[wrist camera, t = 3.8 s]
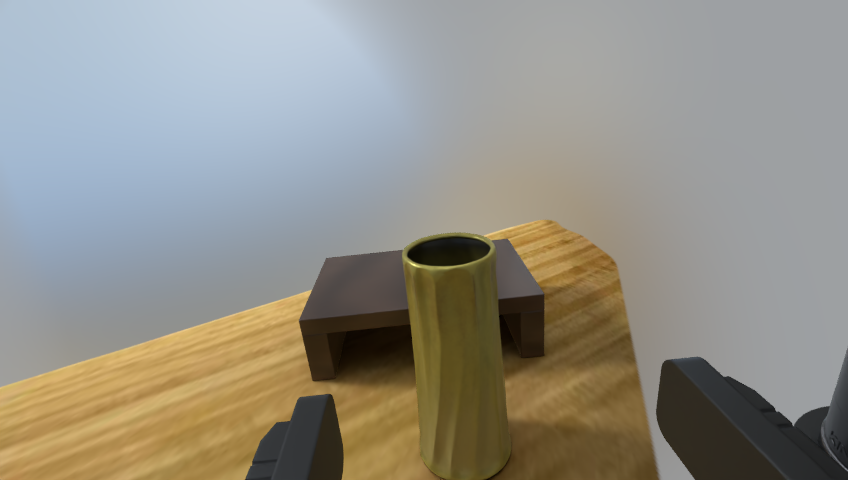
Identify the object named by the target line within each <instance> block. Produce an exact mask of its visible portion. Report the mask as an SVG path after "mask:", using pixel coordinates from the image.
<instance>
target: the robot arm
mask: <svg viewBox="0 0 848 480" xmlns="http://www.w3.org/2000/svg"><path fill="white" fill-rule="evenodd" d="M656 415H657V421H658V425H659V427H660V430H661V432H662V434H663V436H664V438H665V439H666V441H667V442H668V443H669V445H670V446H671V447H672V449H673V450H674V452H675V453H676V454H677V456H678V457H679V458H680V460H681V461H682V463H683V464H684V465H685V467H686V468H687V469H688V471H689V472H690V473H691V475H692V476H693V477H694V479H695V480H848V348H847V352H846V355H845V358H844V362H843V365H842V369H841V372H840V375H839V378H838V382H837V385H836V388H835V391H834V394H833V398H832V401H831V404H830V408H829V411H828V414H827V417H826V418H825V419H824V421H823V423H822V426H821V430H820V433H819V437H818V445H817V444H816V443H814V442H813V441H812V440H811V439H810V438H809V437H807V436H806V435H805V434H804V433H803V432H802V431H801V430H799V429H798V428H797V427H793V425H792V423H791V422H790V421H789V420H788V419H787V418H786V417H785V416H783V415H782V414H781V413H780V412H776V411H775V408H774V407H773V406H772V405H771V404H770V403H769V402H767V401H766V400H765V399H764V398H763V397H762V396H761V395H759V394H758V393H757V392H756V391H755V390H753V389H751V388H749V387H747V386H746V385H744V384H742V383H740V382H738V381H736V380H735V379H733V378H731V377H729V376H727V377H723V376H722V375H721V374H720V373H719V372H718V371H716V370H715V369H714V368H713V367H712V366H711V365H710V364H709V363H708V362H707V361H706V360H704V359H703V358H701V357H690V358H681V359H671V360H666V361H664V363H663V364H662V369H661V376H660V384H659V392H658V400H657V409H656ZM342 473H343V443H342V438H341V433H340V428H339V423H338V418H337V414H336V409H335V404H334V399H333V396H332V395H331V394H325V395H316V396H306V397H300V398H299V399H298V400H297V403H296V406H295V409H294V412H293V415H292V418H291V421H287V422H277V423H276V424H275V425H274V426H273V427H272V429H271V430H270V431H269V432H268V433H267V434H266V435H265V437H264V438H263V439H262V440H261V441H260V444H259V446H258V449H257V451H256V454H255V456H254V459H253V461H252V466H250V469H249V471H248V474H247V476H246V479H245V480H341V479H342Z"/></svg>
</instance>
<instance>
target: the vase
mask: <svg viewBox="0 0 848 480" xmlns="http://www.w3.org/2000/svg"><path fill="white" fill-rule="evenodd" d="M496 259H497V254H496V247H495V245H494V243H493V242H492V241H491V240H490V239H488V238H486V237H484V236H481V235H477V234H470V233H445V234H438V235H433V236H428V237H424V238H421V239H418V240H416V241H414V242H412V243H411V244H409V245H408V246H407V247H405V248H404V250H403V252H402V260H403V267H404V276H405V283H406V292H407V301H408V309H409V317H410V325H411V333H412V343H413V353H414V363H415V375H416V387H417V399H418V413H419V427H420V454H421V457H422V459H423V461H424V463H425V464H426V466H427V467H428V468H429V469H430V470H431V471H432V472H433V473H434V474H436V475H437V476H439V477H441V478H443V479H445V480H485V479H488V478H490V477H492V476H493V475H495V474H496V473H498V472H499V471H500V470H501V469H502V468H503V467H504V466H505V464H506V462H507V461H508V458H509V456H510V453H511V446H512V444H511V438H510V434H509V431H508V420H507V409H506V392H505V381H504V371H503V359H502V347H501V335H500V323H499V311H498V286H497V277H496Z"/></svg>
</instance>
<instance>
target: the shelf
mask: <svg viewBox="0 0 848 480" xmlns="http://www.w3.org/2000/svg"><path fill="white" fill-rule="evenodd" d="M492 242H493V243H494V245H495V247H496V254H497V259H496V277H497V286H498V311H499V315H501V314H503V316H504V318H505V320H506V323H507V325H508V328H509V330H510V332H511V335H512V337H513V339H514V342H515V344H516V346H517V349H518V351H519V353H520V356H521V358H526V357H535V356H544V293H543V291H542V290H541V288H540V287H539V285H538V284H537V282H536V281H535V279H534V278H533V276H532V275H531V273H530V272H529V270H528V269H527V267H526V266H525V264H524V263H523V261H522V260H521V258H520V257H519V255H518V254H517V252H516V251H515V249H514V247H513V246H512V244H511V243H510V241H509V240H508V239H502V240H492ZM402 252H403V250H398V251H389V252H379V253H370V254H361V255H351V256H343V257H332V258H326V260H325V262H324V265H323V267H322V269H321V271H320V274H319V276H318V278H317V280H316V283H315V285H314V287H313V290H312V292H311V294H310V296H309V299H308V301H307V303H306V305H305V308H304V310H303V312H302V315H301V317H300V319H299V323H300V328H301V332H302V337H303V341H304V345H305V350H306V354H307V358H308V363H309V367H310V371H311V376H312V380H313V381H315V380H324V379H334V378H336V374H337V370H338V366H339V361H340V357H341V353H342V348H343V344H344V340H345V335H346V331H353V330H362V329H371V328H381V327H390V326H399V325H408V324H410V317H409V309H408V301H407V292H406V283H405V276H404V267H403V260H402Z"/></svg>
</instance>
